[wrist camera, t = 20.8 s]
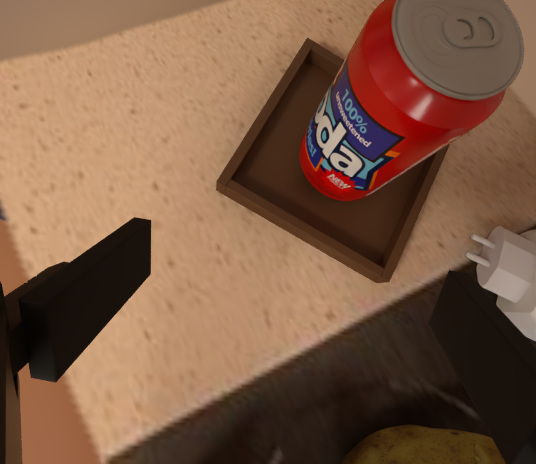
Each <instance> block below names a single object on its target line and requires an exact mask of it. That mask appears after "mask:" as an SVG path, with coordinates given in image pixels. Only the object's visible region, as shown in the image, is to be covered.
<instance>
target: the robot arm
mask: <svg viewBox="0 0 536 464" xmlns="http://www.w3.org/2000/svg"><path fill="white" fill-rule="evenodd" d="M150 274H151V220H147V219H141V218H135V217H134V218H133V219H131V220H130V221H128V222H127V223H126V224H124V225H123V226H121V227H120V228H118V229H117V230H116V231H114V232H113V233H111V234H110V235H108V236H107V237H106V238H104V239H103V240H101V241H100V242H98V243H97V244H96V245H94V246H93V247H91V248H90V249H89V250H87V251H86V252H84V253H83V254H81V255H80V256H79V257H77V258H76V259H74V260H73V261H71V262H70V263H68V262H62V263H59V264H56V265H54V266H51V267H48V268H47V269H45V270H44V271H42V272H41V273H39V274H38V275H37V277H36V276H35V277H33V278H32V279H30V280H29V281H28V282H27V283H24V284H23V285H21V286H20V287H18V288H17V289H15V290H14V291H12V292H11V293H9V294H8V295H6V296H4V294H3V289H2V284H1V282H0V464H22V442H21V414H20V385H19V376H18V372H19V371H20V370H21V369H22V368H23V367H24V366H25V365H26V364H27V363H29V369H30V374H31V378H35V379H41V380H46V381H51V382H57V380H58V379H59V378H60V377H61V376H62V375H63V374H64V373H65V371H66V370H67V369H68V368H69V367H70V366H71V365H72V363H73V362H74V361H75V360H76V359H77V358H78V357H79V355H80V354H81V353H82V352H83V351H84V350H85V349H86V347H87V346H88V345H89V344H90V343H91V342H92V341H93V339H94V338H95V337H96V336H97V335H98V334H99V333H100V331H101V330H102V329H103V328H104V327H105V326H106V325H107V323H108V322H109V321H110V320H111V319H112V318H113V317H114V315H115V314H116V313H117V312H118V311H119V310H120V309H121V307H122V306H123V305H124V304H125V303H126V302H127V301H128V299H129V298H130V297H131V296H132V295H133V294H134V293H135V291H136V290H137V289H138V288H139V287H140V286H141V285H142V283H143V282H144V281H145V280H146V279H147V278H148V277H149V275H150ZM429 324H430V326H431V328H432V330H433V332H434V333H435V335H436V337H437V339H438V341H439V343H440V344H441V346H442V348H443V350H444V352H445V353H446V355H447V357H448V359H449V361H450V363H451V364H452V366H453V368H454V370H455V372H456V374H457V375H458V377H459V379H460V381H461V383H462V384H463V386H464V388H465V390H466V392H467V394H468V395H469V397H470V399H471V401H472V403H473V404H474V406H475V408H476V410H477V412H478V414H479V415H480V417H481V419H482V421H483V423H484V425H485V426H486V428H487V430H488V432H489V434H490V435H491V437H492V439H493V441H494V443H495V445H496V446H497V448H498V450H499V452H500V454H501V456H502V457H503V459H504V461H505V463H506V464H536V344H534V343H531V342H530V341H529V340H528V339H527V338H526V337H525V336H524V335H523V333H522V332H521V331H520V330H519V329H518V328H517V327H516V326H515V325H514V324H513V323H512V322H511V320H510V319H509V318H508V317H507V316H506V315H505V314H504V313H503V312H502V311H501V310H500V309H499V307H498V306H497V305H496V304H495V303H494V302H493V301H492V300H491V299H490V298H489V297H488V296H487V294H486V293H485V292H484V291H483V290H482V289H481V288H480V287H479V286H478V285H477V284H476V282H475V281H474V280H473V279H472V278H471V277H470V276H469V275H468V274H467V273H462V272H456V271H450V270H449V272H448V274H447V277H446V280H445V282H444V285H443V287H442V290H441V293H440V295H439V298H438V300H437V303H436V305H435V308H434V311H433V313H432V316H431V318H430V321H429Z"/></svg>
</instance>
